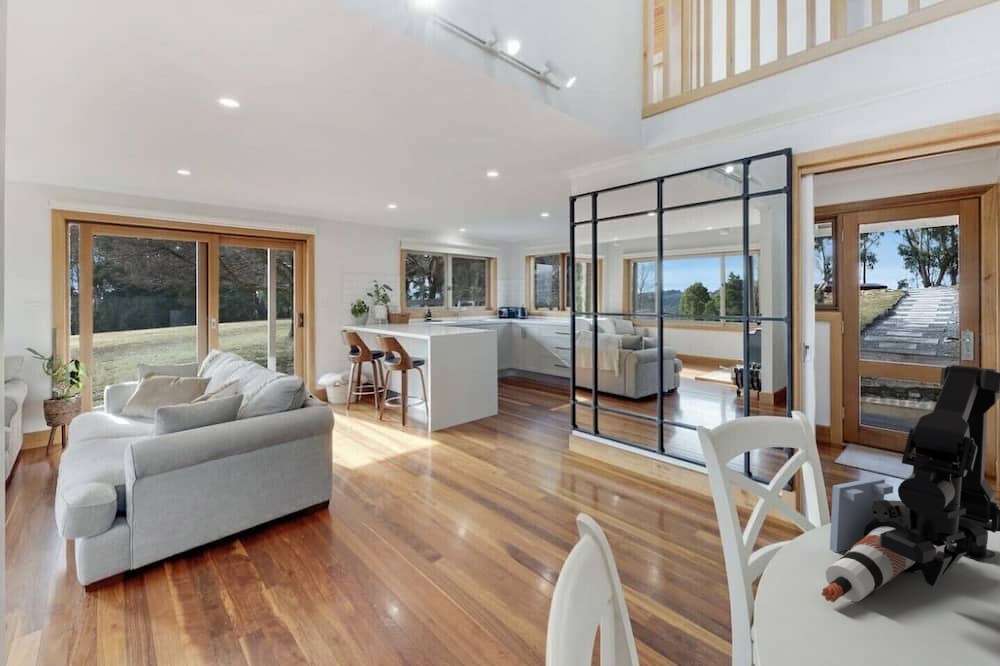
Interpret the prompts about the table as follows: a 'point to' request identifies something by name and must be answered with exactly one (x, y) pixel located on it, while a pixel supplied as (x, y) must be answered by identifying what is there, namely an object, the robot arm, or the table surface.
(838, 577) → the cable
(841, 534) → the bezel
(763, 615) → the table surface
